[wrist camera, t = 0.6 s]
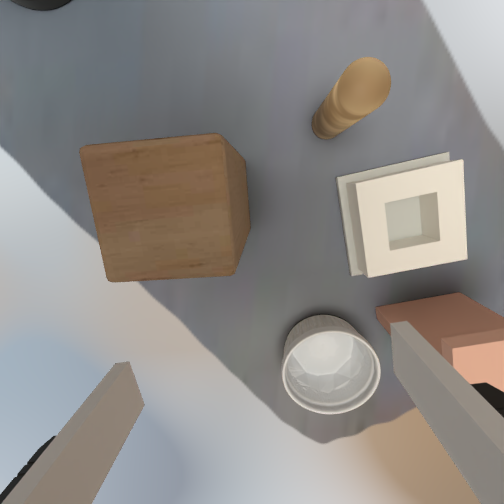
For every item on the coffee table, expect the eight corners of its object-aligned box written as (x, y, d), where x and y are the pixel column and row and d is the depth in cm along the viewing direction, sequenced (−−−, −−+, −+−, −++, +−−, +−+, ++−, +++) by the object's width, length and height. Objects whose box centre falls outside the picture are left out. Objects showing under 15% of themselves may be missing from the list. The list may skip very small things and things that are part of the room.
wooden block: (173, 164, 38) (74, 144, 18) (245, 157, 37) (221, 130, 18) (183, 235, 40) (105, 285, 21) (251, 230, 39) (236, 277, 20)
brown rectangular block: (371, 276, 40) (452, 348, 23) (457, 260, 39) (613, 323, 21) (377, 318, 42) (456, 416, 24) (460, 304, 40) (606, 397, 23)
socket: (335, 177, 37) (345, 176, 32) (443, 152, 35) (472, 148, 31) (349, 273, 40) (361, 286, 35) (449, 254, 39) (476, 265, 34)
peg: (309, 110, 35) (336, 64, 22) (340, 102, 35) (388, 50, 21) (314, 142, 36) (343, 118, 22) (345, 135, 36) (393, 106, 22)
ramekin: (377, 360, 44) (397, 392, 37) (303, 392, 46) (310, 429, 39) (340, 292, 41) (354, 314, 34) (264, 330, 43) (263, 357, 37)
